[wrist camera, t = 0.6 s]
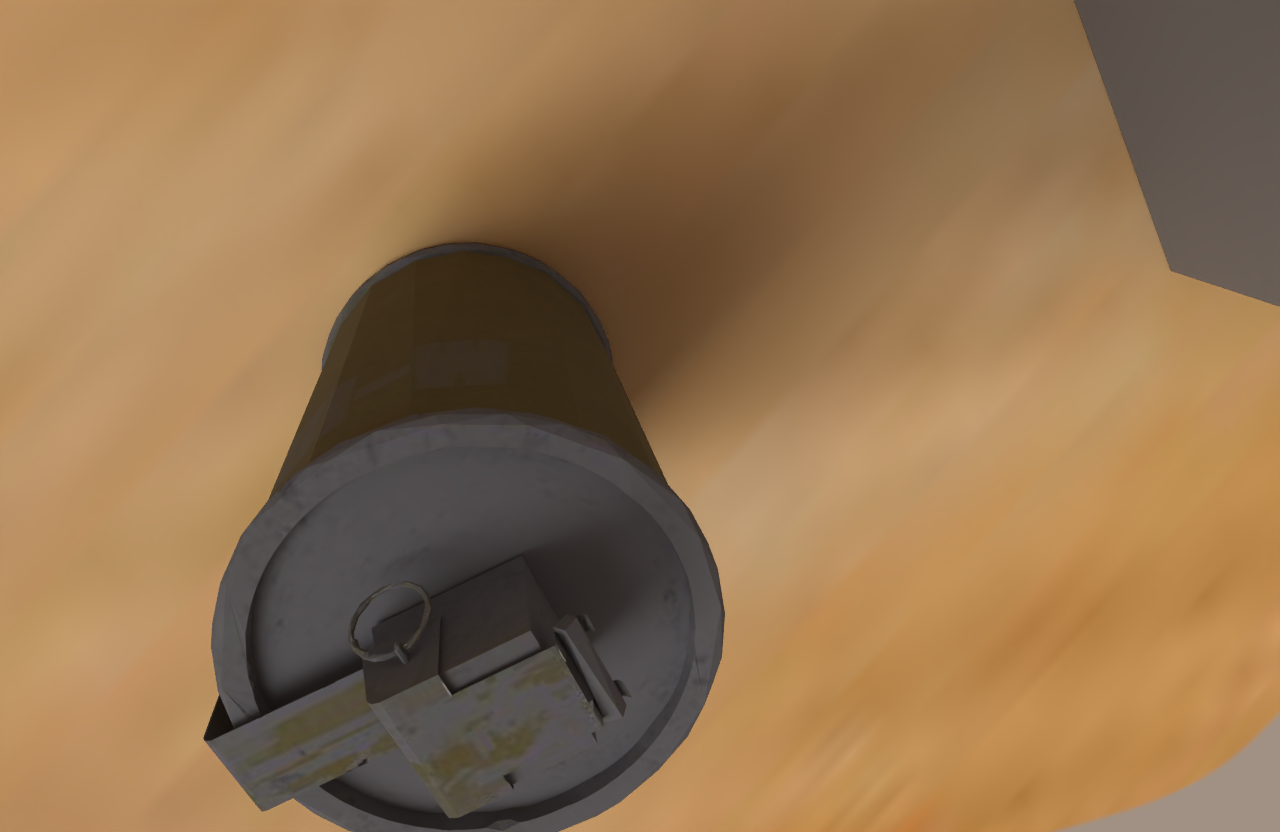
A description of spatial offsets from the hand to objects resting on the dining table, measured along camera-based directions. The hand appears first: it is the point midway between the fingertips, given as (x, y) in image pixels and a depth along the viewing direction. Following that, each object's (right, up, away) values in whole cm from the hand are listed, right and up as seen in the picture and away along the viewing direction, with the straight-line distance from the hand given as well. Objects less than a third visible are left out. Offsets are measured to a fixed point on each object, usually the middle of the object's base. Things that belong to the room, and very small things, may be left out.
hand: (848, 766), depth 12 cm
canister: (-9, +5, +25) cm, 27 cm away
